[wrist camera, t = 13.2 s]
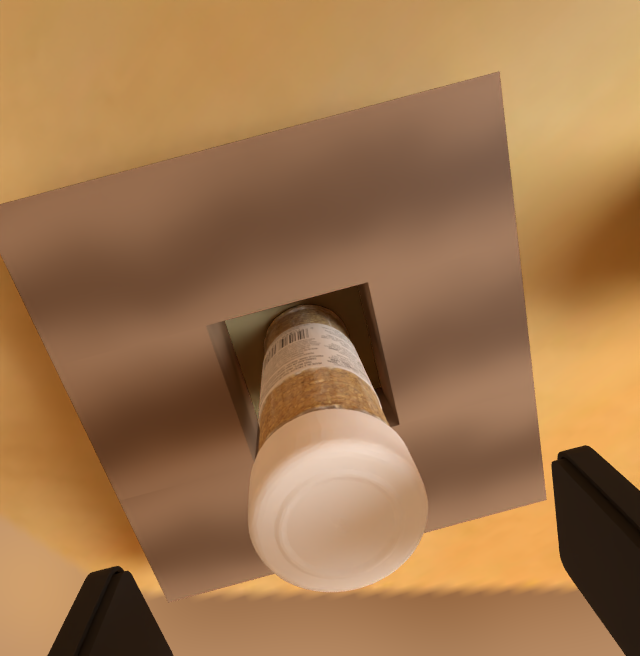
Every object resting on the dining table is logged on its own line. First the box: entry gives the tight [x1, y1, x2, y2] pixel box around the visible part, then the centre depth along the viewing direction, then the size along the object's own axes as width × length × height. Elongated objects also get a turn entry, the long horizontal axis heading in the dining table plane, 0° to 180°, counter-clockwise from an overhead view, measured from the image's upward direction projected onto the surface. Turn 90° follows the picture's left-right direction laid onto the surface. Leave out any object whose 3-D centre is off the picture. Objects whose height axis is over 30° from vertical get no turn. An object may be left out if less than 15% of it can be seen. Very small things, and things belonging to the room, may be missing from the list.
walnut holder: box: [0, 72, 546, 603], centre depth 22 cm, size 20×20×4 cm
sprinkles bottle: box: [248, 305, 428, 592], centre depth 17 cm, size 5×5×13 cm
